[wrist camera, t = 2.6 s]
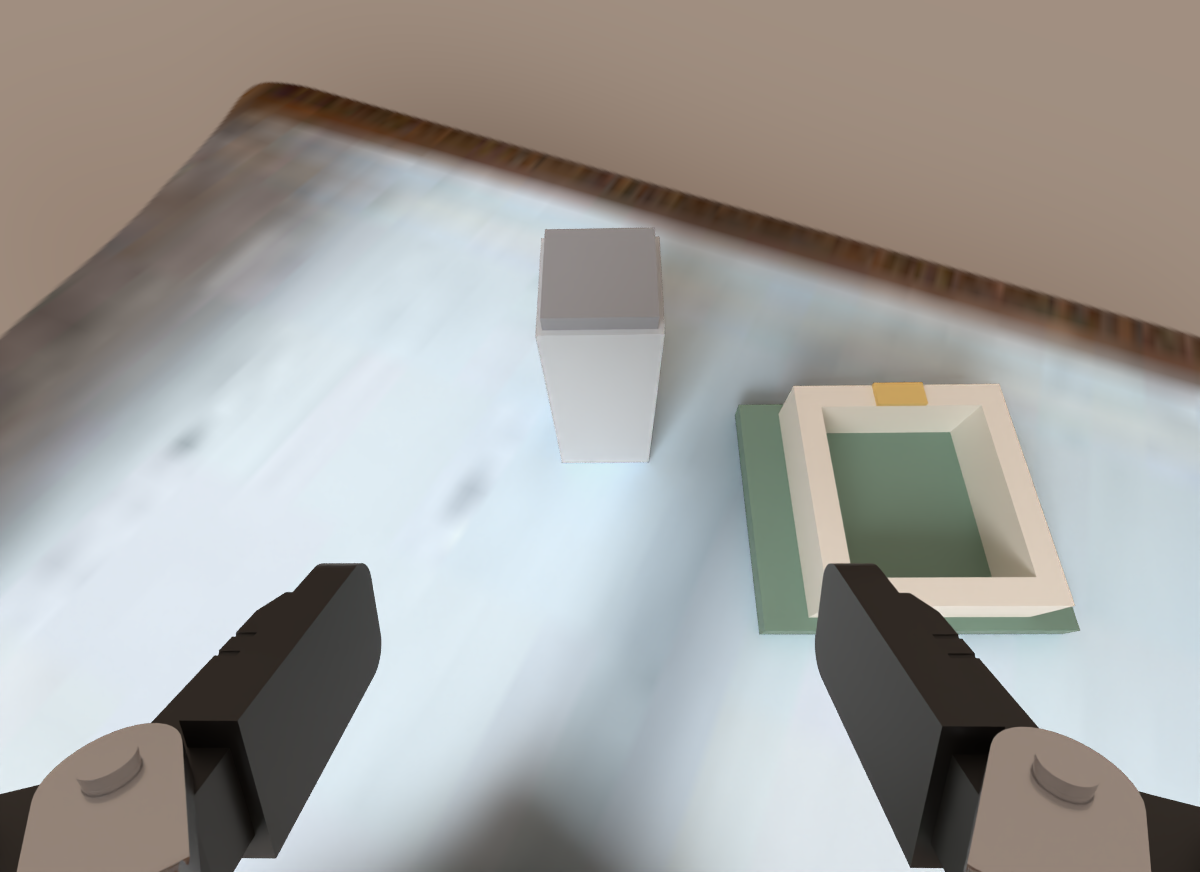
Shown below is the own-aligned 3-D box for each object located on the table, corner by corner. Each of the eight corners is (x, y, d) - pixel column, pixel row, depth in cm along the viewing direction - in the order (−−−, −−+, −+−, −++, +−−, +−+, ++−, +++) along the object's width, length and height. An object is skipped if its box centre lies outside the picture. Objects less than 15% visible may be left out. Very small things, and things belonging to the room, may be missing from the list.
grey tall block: (562, 462, 27) (532, 324, 18) (564, 374, 29) (540, 207, 20) (648, 462, 27) (666, 322, 18) (645, 373, 29) (659, 205, 20)
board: (759, 634, 24) (783, 620, 20) (734, 414, 28) (750, 373, 25) (1062, 633, 23) (1136, 619, 20) (990, 412, 28) (1040, 370, 24)
